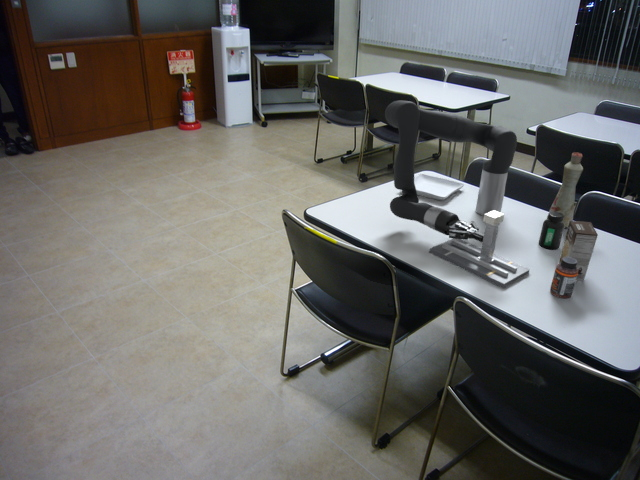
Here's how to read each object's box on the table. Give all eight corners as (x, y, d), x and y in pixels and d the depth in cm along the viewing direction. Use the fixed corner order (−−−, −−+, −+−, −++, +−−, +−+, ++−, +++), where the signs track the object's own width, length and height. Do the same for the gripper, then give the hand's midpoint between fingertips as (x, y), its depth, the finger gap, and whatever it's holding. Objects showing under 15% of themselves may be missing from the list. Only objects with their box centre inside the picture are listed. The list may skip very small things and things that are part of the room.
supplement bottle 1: (548, 252, 177) (556, 219, 171) (533, 243, 182) (541, 211, 177) (563, 248, 179) (572, 216, 174) (548, 240, 185) (556, 208, 179)
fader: (484, 256, 169) (493, 209, 161) (495, 261, 166) (504, 214, 159) (475, 261, 166) (483, 213, 159) (486, 266, 163) (495, 218, 156)
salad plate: (419, 179, 238) (420, 172, 236) (464, 190, 227) (465, 183, 226) (397, 193, 223) (398, 185, 221) (444, 205, 212) (445, 197, 210)
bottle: (564, 231, 191) (584, 157, 179) (541, 223, 197) (558, 151, 185) (575, 225, 197) (595, 153, 184) (552, 217, 203) (570, 147, 190)
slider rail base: (455, 241, 182) (456, 234, 181) (528, 273, 163) (530, 266, 162) (429, 252, 174) (430, 245, 173) (503, 288, 155) (504, 280, 154)
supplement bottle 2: (545, 288, 156) (554, 254, 151) (565, 287, 156) (574, 254, 151) (555, 299, 150) (564, 265, 145) (575, 298, 151) (585, 264, 146)
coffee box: (557, 264, 169) (568, 219, 162) (578, 267, 168) (591, 221, 160) (562, 279, 161) (575, 232, 153) (585, 281, 160) (599, 234, 152)
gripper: (429, 215, 170) (474, 234, 158) (454, 205, 178) (499, 222, 166) (426, 235, 173) (470, 255, 162) (451, 225, 181) (495, 244, 169)
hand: (485, 239), depth 164 cm, fingers closed
